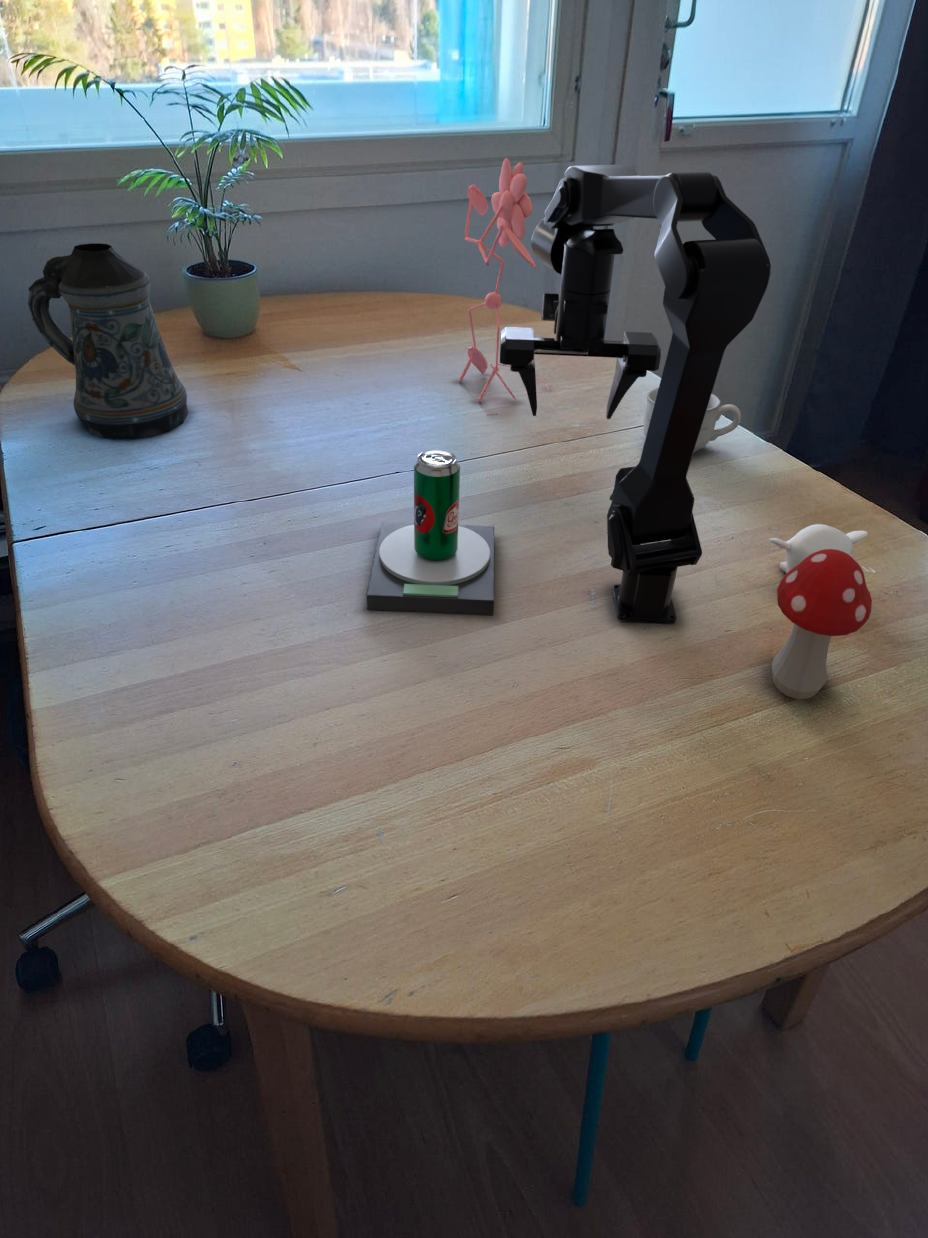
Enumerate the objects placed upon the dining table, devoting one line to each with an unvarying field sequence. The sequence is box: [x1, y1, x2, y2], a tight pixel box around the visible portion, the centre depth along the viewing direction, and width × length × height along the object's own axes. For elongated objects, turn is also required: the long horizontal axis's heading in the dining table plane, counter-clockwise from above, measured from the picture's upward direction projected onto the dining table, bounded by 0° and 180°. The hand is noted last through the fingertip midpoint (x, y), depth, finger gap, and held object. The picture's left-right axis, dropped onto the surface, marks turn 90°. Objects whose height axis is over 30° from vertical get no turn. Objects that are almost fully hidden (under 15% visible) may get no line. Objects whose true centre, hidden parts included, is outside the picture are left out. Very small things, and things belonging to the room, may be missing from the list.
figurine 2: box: [768, 523, 876, 574], centre depth 101 cm, size 12×8×10 cm
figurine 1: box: [458, 157, 550, 416], centre depth 139 cm, size 15×26×35 cm, turn 21°
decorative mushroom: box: [771, 549, 873, 700], centre depth 85 cm, size 10×9×15 cm
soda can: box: [413, 449, 461, 561], centre depth 98 cm, size 5×5×12 cm
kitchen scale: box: [366, 521, 495, 616], centre depth 102 cm, size 16×14×3 cm
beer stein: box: [27, 242, 189, 440], centre depth 127 cm, size 16×19×25 cm
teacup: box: [643, 387, 742, 453], centre depth 130 cm, size 14×11×8 cm
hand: (571, 416), depth 109 cm, fingers open, 9 cm apart
